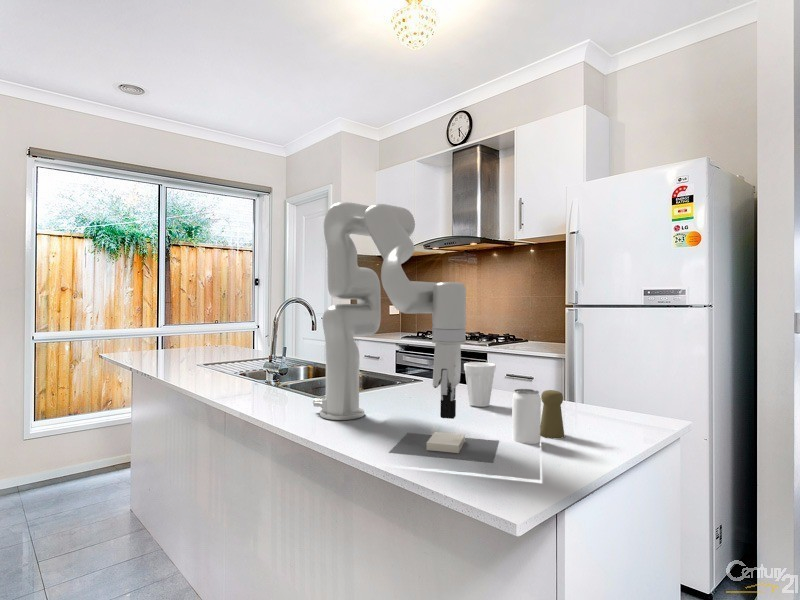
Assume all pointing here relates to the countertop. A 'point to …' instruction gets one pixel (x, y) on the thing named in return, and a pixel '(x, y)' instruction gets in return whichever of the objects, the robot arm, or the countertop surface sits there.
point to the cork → (552, 415)
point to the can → (526, 416)
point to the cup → (479, 382)
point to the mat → (469, 451)
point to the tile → (446, 442)
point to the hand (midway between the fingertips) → (448, 417)
